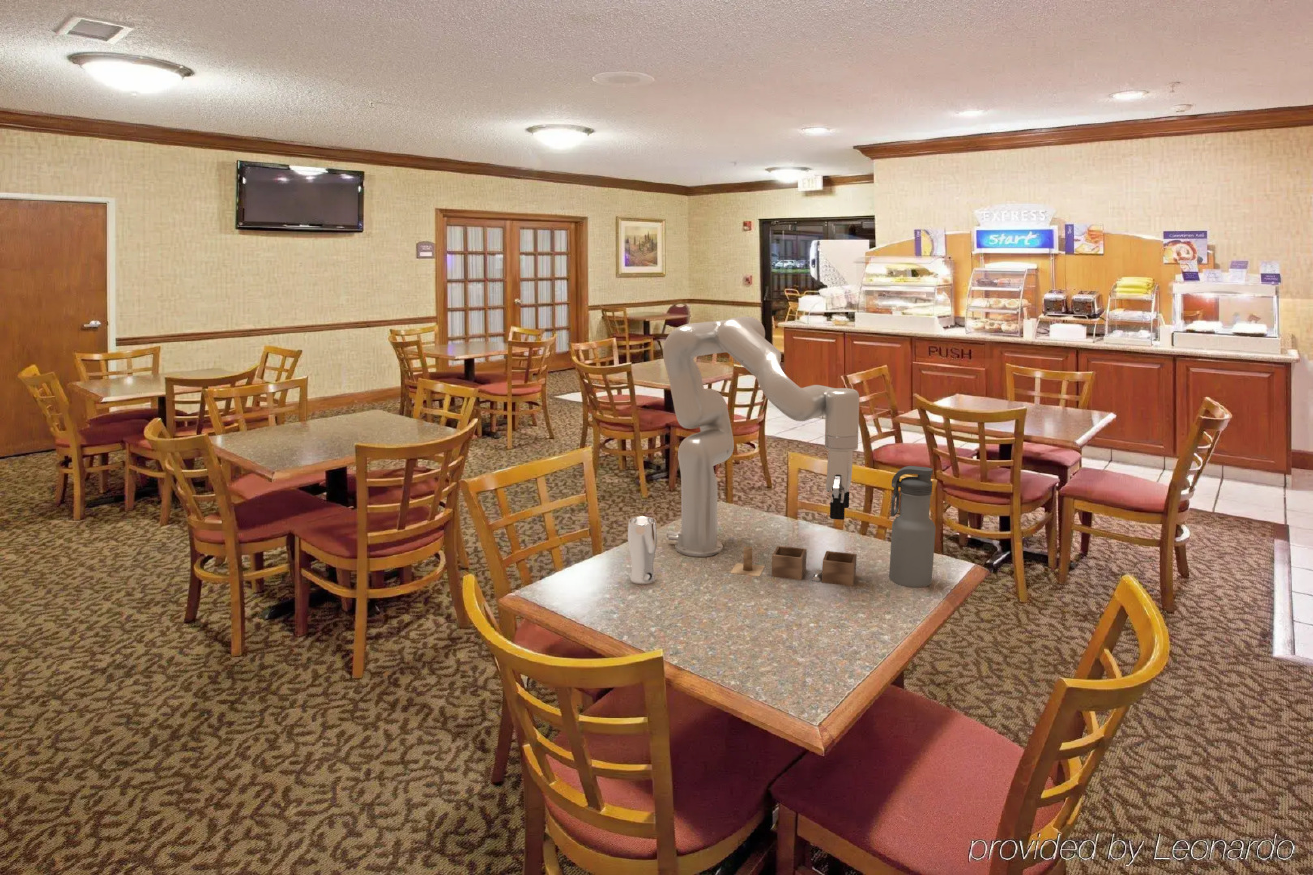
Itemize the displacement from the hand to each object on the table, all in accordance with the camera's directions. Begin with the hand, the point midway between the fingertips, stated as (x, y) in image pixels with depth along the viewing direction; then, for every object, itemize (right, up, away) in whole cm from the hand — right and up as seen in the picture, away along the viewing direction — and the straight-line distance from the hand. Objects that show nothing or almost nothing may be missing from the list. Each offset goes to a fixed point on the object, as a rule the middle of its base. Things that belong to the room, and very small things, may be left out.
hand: (839, 513), depth 188 cm
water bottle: (+17, -17, +3) cm, 24 cm away
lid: (-21, -16, +10) cm, 28 cm away
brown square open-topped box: (+1, -17, +3) cm, 17 cm away
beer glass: (-47, -17, +5) cm, 50 cm away
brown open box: (-11, -16, +7) cm, 21 cm away
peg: (-5, -16, +4) cm, 17 cm away
